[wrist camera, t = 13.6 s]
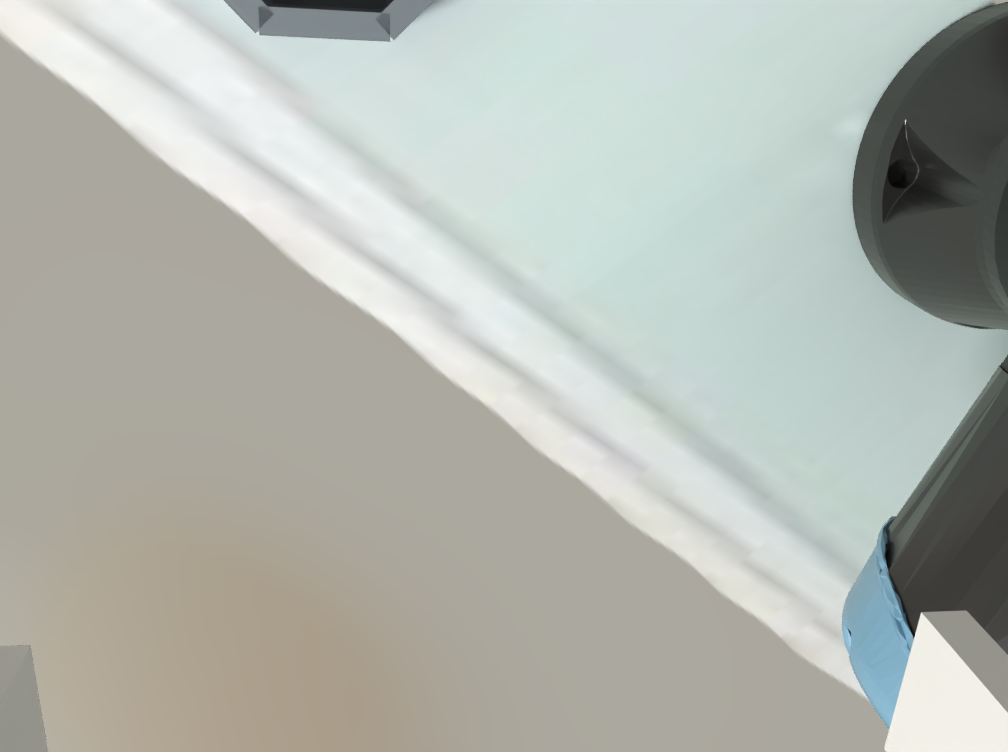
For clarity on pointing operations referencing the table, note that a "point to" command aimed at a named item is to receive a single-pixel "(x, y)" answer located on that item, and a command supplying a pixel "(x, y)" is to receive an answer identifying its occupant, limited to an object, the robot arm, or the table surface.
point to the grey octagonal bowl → (330, 17)
